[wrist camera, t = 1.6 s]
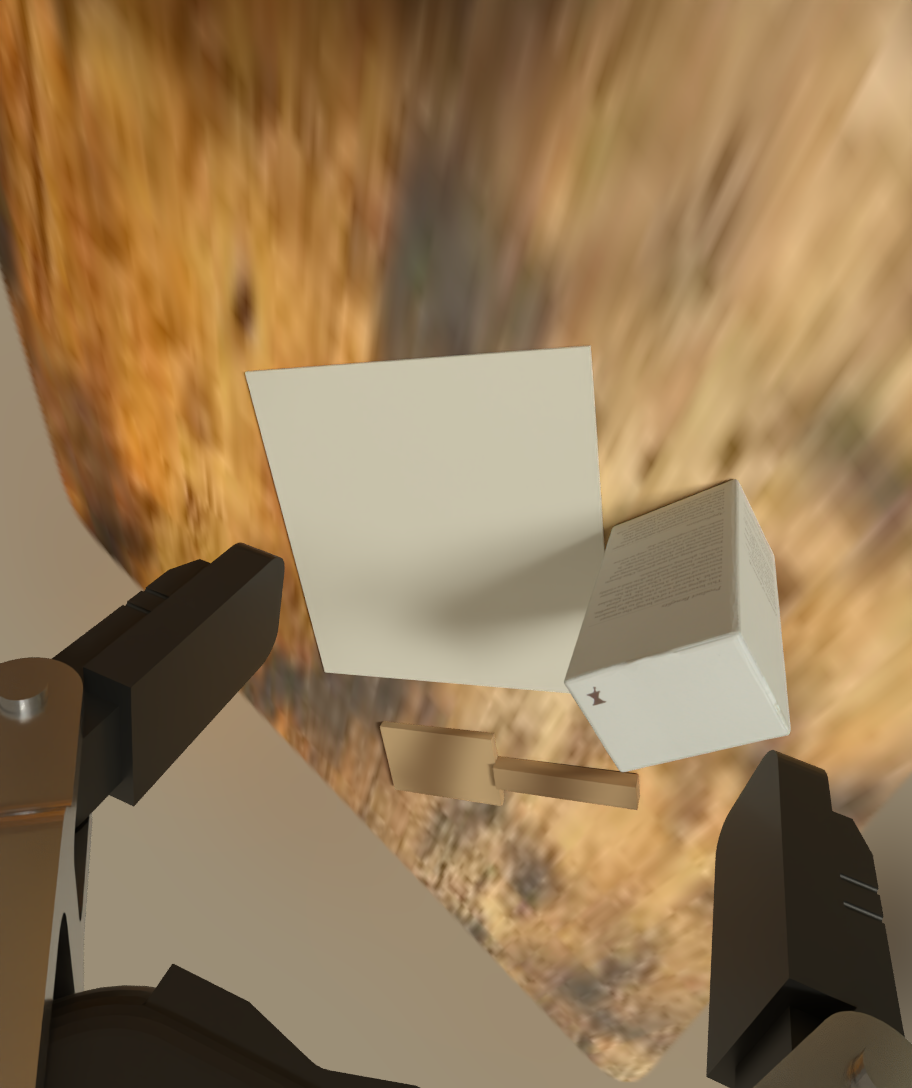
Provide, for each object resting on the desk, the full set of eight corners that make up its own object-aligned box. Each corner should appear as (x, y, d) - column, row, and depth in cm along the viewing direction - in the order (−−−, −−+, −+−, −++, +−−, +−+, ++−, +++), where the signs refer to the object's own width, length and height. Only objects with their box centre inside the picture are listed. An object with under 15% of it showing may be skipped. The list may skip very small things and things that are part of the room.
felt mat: (590, 345, 32) (590, 346, 31) (614, 694, 39) (614, 696, 39) (247, 371, 38) (244, 372, 37) (326, 670, 45) (325, 672, 45)
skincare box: (651, 599, 36) (615, 777, 26) (611, 524, 35) (556, 681, 25) (781, 556, 33) (795, 740, 23) (741, 473, 32) (737, 628, 22)
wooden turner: (637, 750, 40) (634, 763, 40) (641, 819, 43) (638, 833, 42) (384, 720, 46) (377, 730, 45) (398, 782, 48) (392, 794, 47)
